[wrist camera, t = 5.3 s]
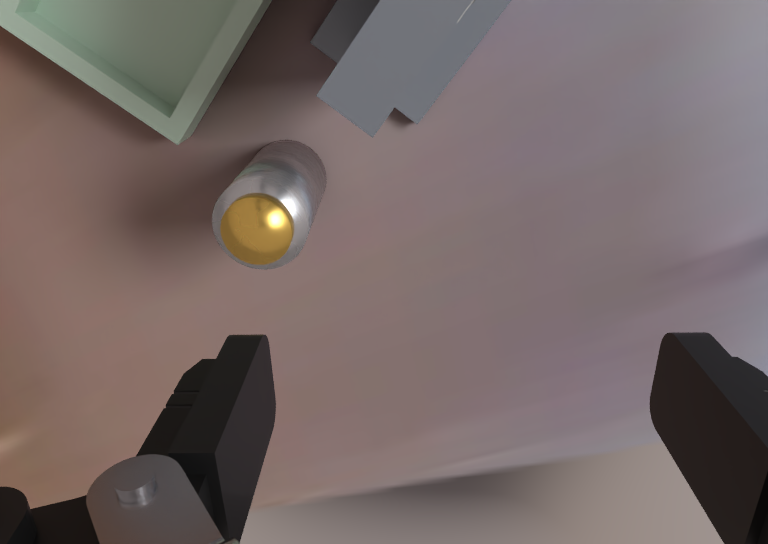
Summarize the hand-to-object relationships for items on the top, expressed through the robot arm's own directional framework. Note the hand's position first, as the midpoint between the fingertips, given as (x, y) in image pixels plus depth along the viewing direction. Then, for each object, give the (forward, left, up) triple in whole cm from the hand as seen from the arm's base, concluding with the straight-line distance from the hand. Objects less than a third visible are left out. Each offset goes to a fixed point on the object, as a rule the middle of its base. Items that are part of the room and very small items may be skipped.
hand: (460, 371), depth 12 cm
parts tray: (-16, -3, -23) cm, 28 cm away
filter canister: (-5, -7, -23) cm, 25 cm away
